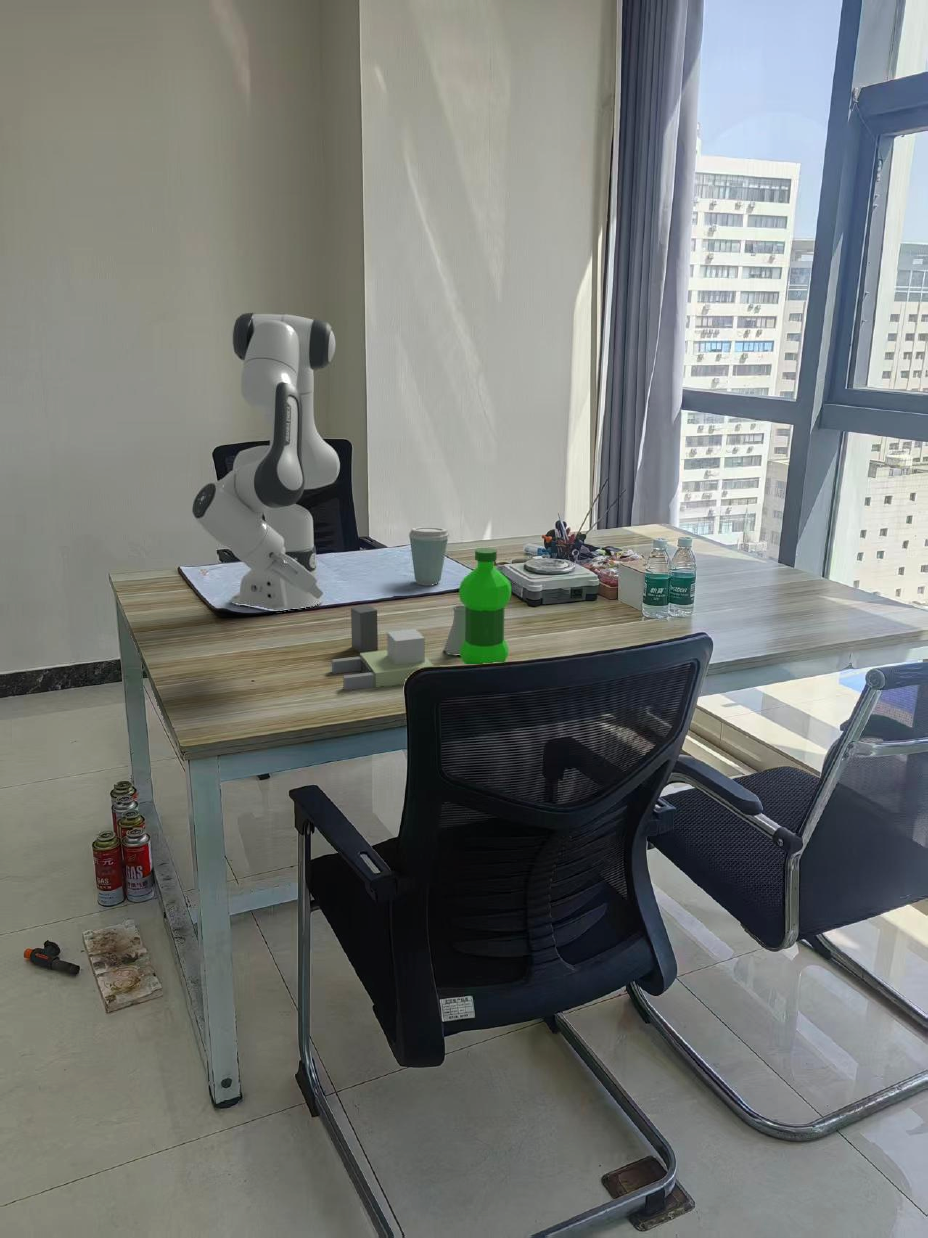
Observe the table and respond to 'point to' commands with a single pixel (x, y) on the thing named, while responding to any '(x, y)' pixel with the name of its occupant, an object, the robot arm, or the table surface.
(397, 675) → the pronged platform block
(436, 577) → the disposable coffee cup
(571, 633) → the table surface
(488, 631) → the plastic bottle
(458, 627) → the flask
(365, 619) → the chute block
